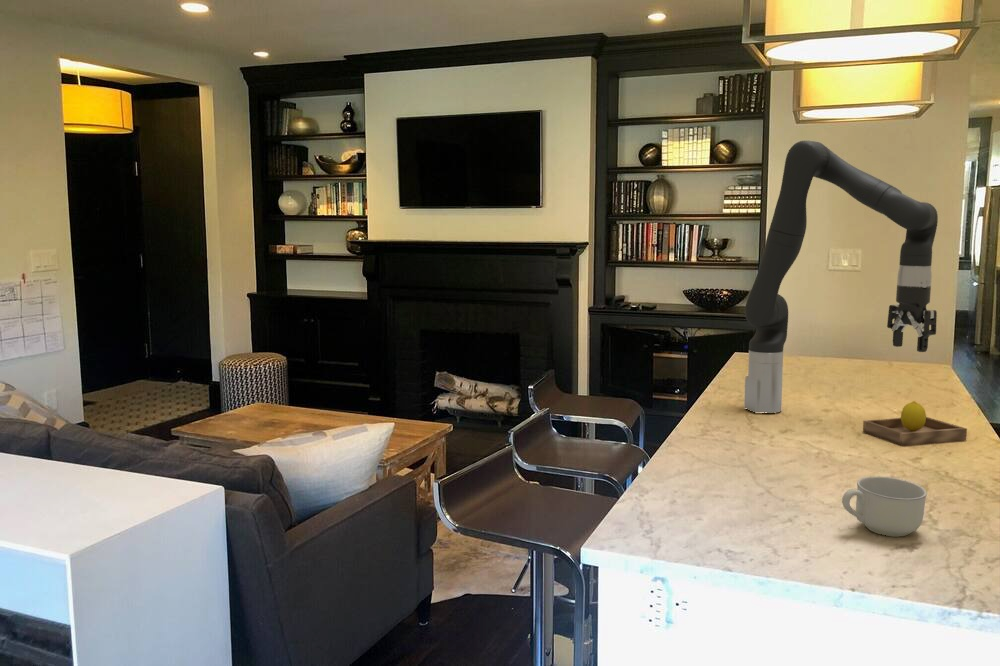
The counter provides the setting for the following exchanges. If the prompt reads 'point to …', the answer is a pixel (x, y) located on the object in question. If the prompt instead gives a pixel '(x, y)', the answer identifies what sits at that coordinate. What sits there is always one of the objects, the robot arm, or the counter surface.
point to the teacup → (887, 505)
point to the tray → (926, 435)
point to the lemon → (913, 416)
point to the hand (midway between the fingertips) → (909, 349)
